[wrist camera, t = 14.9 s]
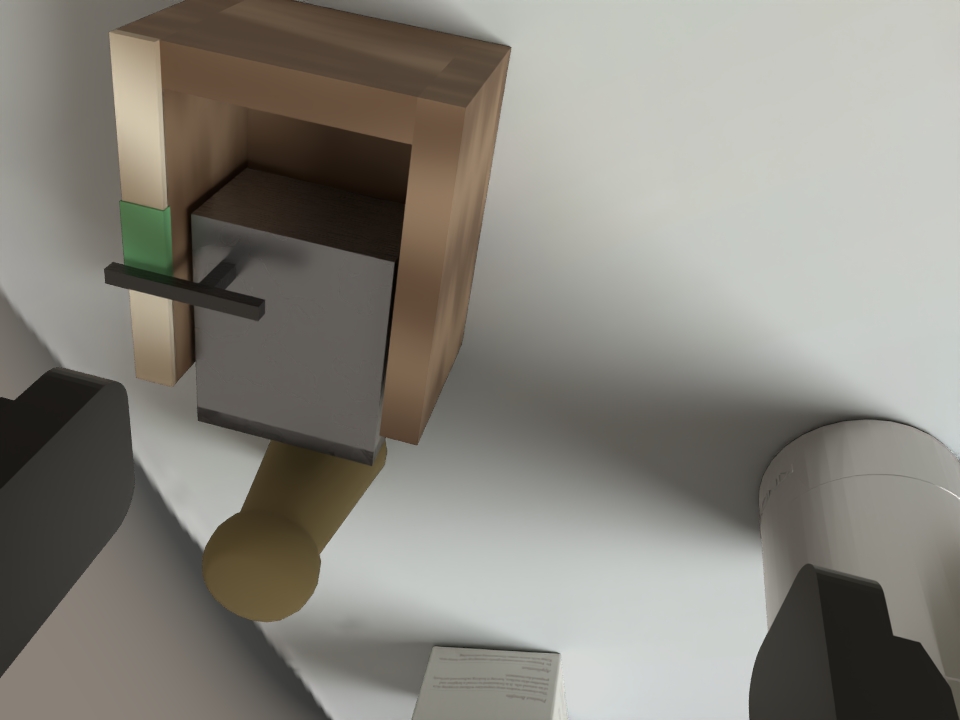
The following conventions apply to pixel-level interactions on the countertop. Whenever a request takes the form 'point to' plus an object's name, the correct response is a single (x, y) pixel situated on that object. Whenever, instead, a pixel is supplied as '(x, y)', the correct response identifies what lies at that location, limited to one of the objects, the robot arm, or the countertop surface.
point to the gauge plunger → (289, 310)
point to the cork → (283, 531)
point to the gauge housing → (308, 158)
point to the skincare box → (491, 686)
